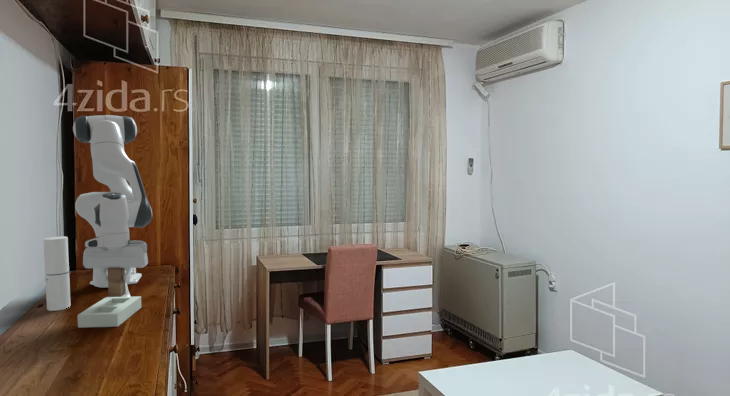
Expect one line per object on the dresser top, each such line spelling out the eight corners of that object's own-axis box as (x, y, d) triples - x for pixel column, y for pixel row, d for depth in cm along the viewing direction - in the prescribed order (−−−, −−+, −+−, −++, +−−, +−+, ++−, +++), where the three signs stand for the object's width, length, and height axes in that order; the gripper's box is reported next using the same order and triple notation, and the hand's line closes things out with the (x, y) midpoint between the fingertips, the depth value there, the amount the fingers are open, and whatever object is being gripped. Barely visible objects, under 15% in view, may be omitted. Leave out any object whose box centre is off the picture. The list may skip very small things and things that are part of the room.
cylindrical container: (59, 311, 168) (55, 239, 166) (41, 310, 169) (38, 239, 167) (75, 305, 175) (72, 236, 173) (58, 304, 176) (55, 236, 174)
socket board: (106, 308, 172) (105, 297, 171) (141, 307, 173) (141, 296, 172) (78, 327, 152) (77, 315, 151) (117, 326, 153) (117, 314, 152)
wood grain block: (113, 293, 168) (112, 265, 168) (125, 293, 169) (124, 265, 168) (108, 296, 164) (107, 267, 164) (120, 296, 165) (119, 267, 164)
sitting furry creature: (103, 306, 173) (101, 273, 172) (109, 300, 182) (107, 268, 181) (132, 304, 176) (131, 272, 175) (136, 298, 184) (135, 267, 183)
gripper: (150, 238, 169) (151, 277, 170) (88, 239, 167) (90, 278, 168) (143, 241, 163) (144, 282, 164) (79, 242, 161) (81, 283, 162)
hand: (116, 280), depth 166 cm, fingers closed on wood grain block, 4 cm apart
